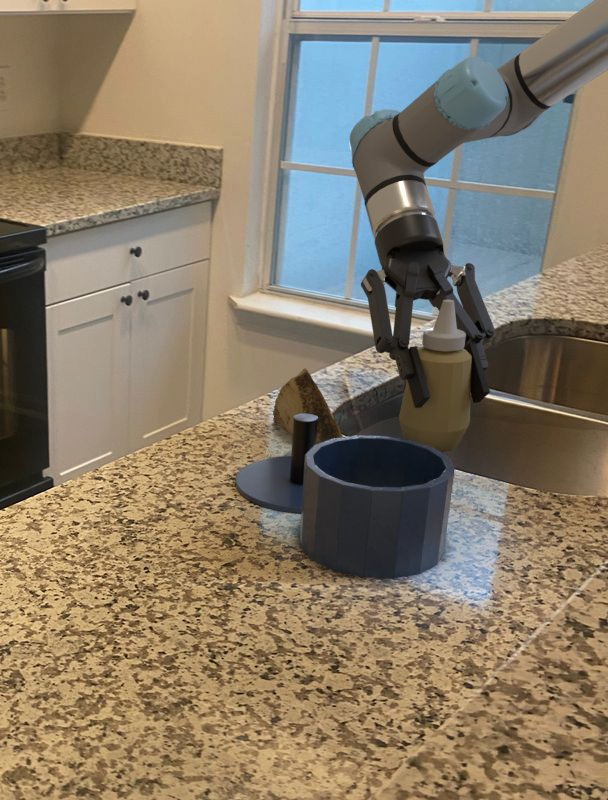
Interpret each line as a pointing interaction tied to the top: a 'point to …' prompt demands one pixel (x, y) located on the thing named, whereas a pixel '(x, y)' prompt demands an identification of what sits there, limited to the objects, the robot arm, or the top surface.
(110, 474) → the top surface
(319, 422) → the rock
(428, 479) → the pot
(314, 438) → the pot lid
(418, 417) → the squeeze bottle
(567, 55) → the robot arm
